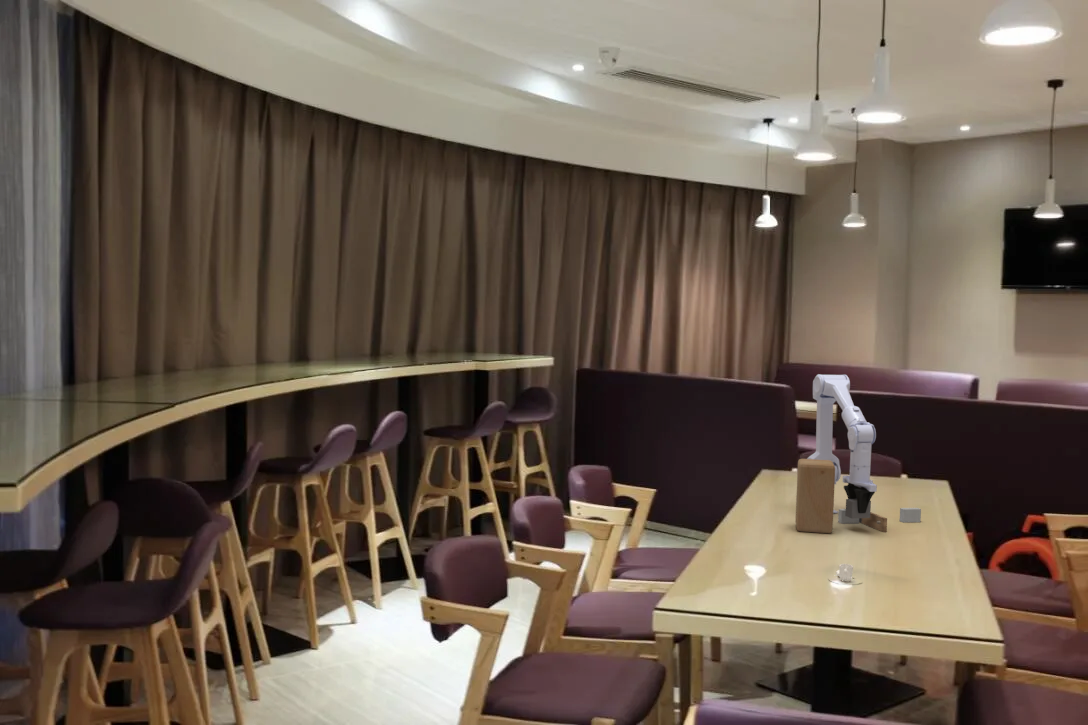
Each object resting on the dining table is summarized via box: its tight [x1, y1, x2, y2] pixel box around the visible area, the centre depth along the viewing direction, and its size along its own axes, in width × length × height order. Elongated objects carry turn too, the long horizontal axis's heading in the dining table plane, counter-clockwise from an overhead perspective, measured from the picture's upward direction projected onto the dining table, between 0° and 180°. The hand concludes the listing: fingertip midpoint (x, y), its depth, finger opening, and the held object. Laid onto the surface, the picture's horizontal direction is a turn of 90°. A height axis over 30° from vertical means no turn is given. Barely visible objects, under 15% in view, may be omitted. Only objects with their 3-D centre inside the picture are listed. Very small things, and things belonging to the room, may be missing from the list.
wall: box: [837, 507, 922, 525], centre depth 305 cm, size 26×2×4 cm, turn 100°
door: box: [861, 511, 888, 533], centre depth 297 cm, size 12×2×4 cm, turn 15°
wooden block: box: [794, 458, 836, 534], centre depth 292 cm, size 10×10×20 cm
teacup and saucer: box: [835, 563, 854, 582], centre depth 240 cm, size 9×8×4 cm
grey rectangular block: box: [845, 498, 872, 519], centre depth 294 cm, size 6×4×5 cm, turn 106°
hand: (857, 511), depth 294 cm, fingers closed on grey rectangular block, 3 cm apart
